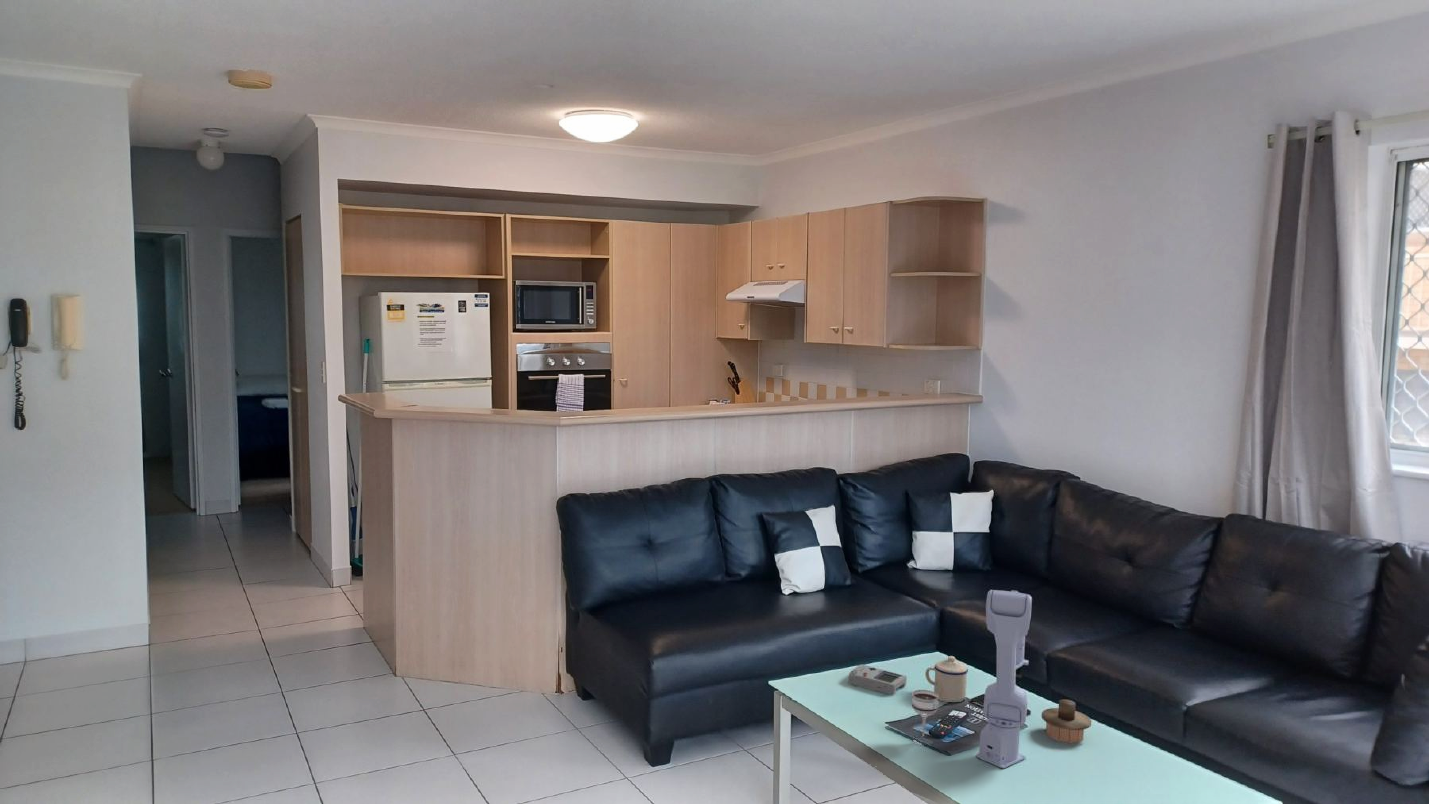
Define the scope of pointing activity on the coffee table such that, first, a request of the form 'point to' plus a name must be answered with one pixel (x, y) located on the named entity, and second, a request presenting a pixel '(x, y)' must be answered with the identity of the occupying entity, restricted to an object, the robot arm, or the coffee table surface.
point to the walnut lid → (1066, 716)
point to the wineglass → (924, 704)
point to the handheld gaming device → (876, 679)
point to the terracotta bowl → (1064, 734)
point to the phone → (980, 700)
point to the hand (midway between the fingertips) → (1010, 693)
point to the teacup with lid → (949, 679)
